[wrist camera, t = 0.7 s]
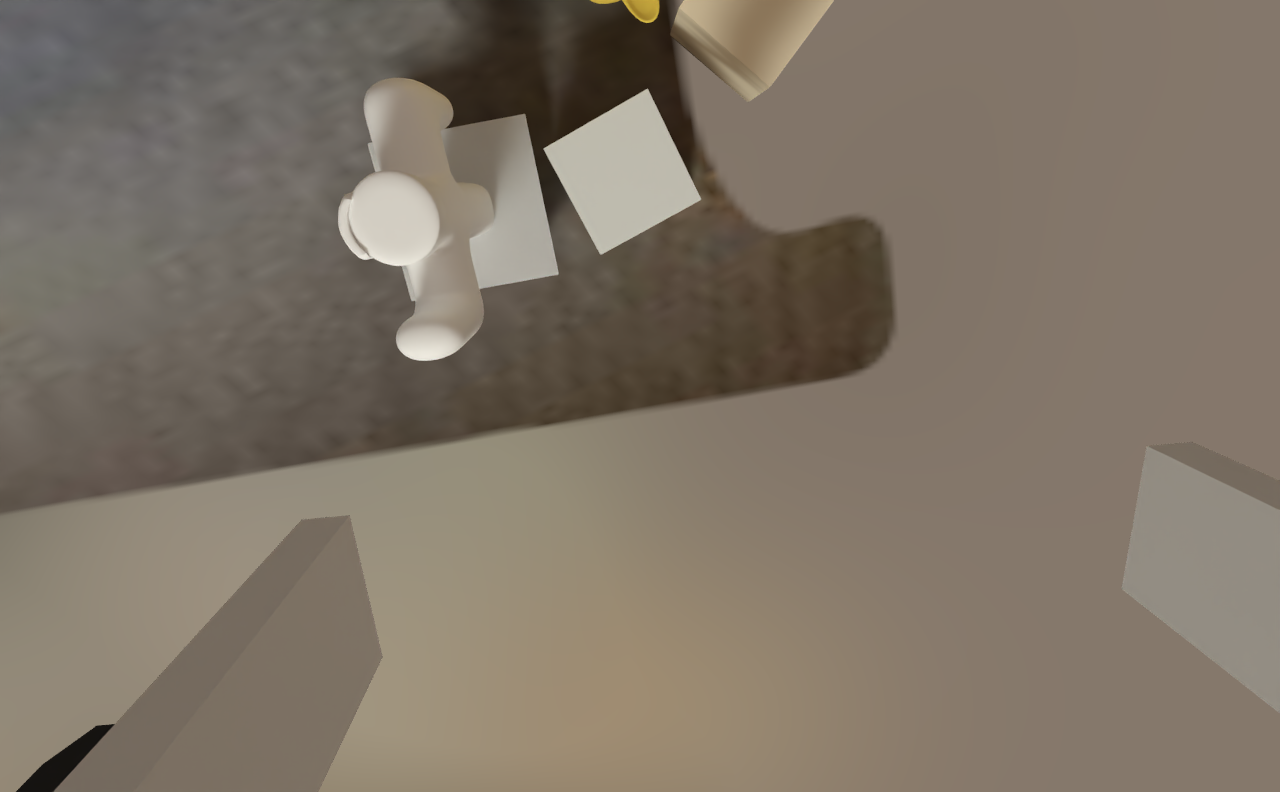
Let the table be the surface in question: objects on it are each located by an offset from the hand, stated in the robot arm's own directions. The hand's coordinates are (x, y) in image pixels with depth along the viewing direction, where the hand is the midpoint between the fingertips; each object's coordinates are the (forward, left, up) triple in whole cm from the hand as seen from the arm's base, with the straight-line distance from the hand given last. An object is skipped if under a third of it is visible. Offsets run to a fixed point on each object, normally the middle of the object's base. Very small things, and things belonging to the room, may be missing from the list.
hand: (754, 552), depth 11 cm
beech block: (-8, +12, -26) cm, 30 cm away
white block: (-6, +3, -26) cm, 27 cm away
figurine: (-10, -4, -26) cm, 28 cm away
